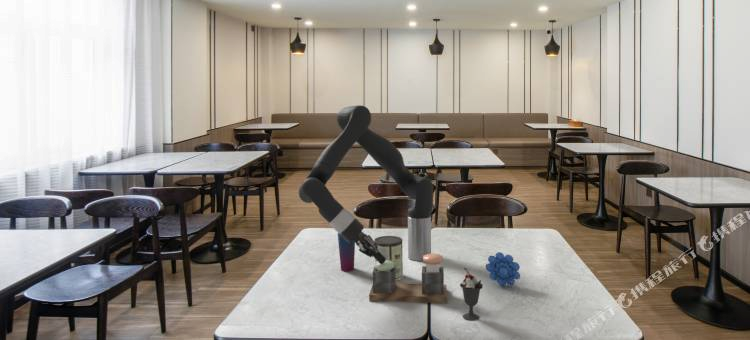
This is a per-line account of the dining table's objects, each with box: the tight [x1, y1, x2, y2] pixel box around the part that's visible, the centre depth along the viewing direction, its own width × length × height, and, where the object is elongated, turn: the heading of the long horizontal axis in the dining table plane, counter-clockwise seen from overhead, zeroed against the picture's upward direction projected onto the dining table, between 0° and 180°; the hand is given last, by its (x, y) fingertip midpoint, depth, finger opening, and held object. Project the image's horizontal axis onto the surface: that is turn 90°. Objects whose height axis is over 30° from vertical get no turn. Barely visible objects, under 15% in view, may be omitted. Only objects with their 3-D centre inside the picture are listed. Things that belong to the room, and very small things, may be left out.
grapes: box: [485, 251, 521, 287], centre depth 179 cm, size 12×7×12 cm, turn 80°
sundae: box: [459, 267, 483, 322], centre depth 156 cm, size 7×7×15 cm
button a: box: [374, 260, 394, 272], centre depth 174 cm, size 6×6×8 cm
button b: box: [422, 253, 444, 273], centre depth 172 cm, size 6×6×8 cm
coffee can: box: [373, 235, 404, 282], centre depth 191 cm, size 10×10×14 cm
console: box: [368, 265, 448, 304], centre depth 174 cm, size 25×11×9 cm, turn 83°
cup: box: [337, 232, 356, 272], centre depth 200 cm, size 7×7×15 cm
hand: (384, 261), depth 173 cm, fingers closed
